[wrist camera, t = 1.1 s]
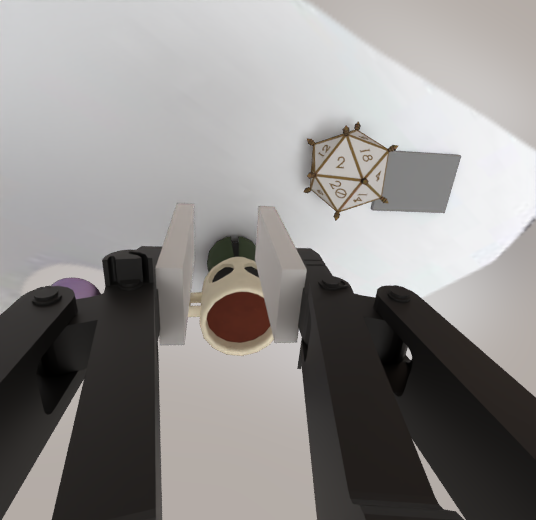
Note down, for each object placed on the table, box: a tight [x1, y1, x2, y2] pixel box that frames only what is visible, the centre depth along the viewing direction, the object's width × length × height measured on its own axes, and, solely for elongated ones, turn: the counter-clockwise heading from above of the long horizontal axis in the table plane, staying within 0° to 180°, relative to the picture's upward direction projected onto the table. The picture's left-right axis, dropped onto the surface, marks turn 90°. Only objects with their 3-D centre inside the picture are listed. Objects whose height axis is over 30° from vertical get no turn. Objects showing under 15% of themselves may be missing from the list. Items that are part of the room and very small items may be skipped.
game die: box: [304, 122, 398, 221], centre depth 34 cm, size 9×8×10 cm
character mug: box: [188, 236, 274, 356], centre depth 36 cm, size 11×7×13 cm, turn 88°
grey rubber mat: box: [371, 151, 461, 213], centre depth 41 cm, size 9×7×1 cm
